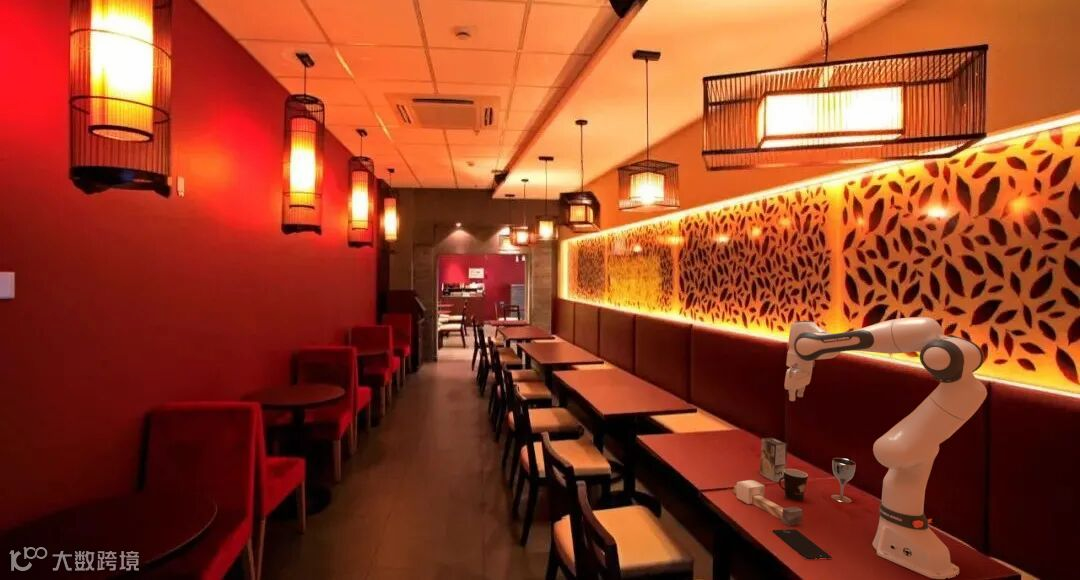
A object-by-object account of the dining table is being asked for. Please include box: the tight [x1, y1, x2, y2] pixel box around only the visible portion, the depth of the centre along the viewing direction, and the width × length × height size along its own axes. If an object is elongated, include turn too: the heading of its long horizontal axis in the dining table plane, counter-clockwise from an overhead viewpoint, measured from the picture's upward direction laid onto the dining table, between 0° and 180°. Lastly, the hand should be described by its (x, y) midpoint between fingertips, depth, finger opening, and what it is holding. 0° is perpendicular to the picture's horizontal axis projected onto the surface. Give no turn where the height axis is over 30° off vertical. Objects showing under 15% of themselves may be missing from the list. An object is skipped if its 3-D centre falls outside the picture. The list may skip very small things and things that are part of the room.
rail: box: [733, 484, 803, 527], centre depth 196 cm, size 28×6×5 cm, turn 23°
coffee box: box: [759, 437, 788, 483], centre depth 228 cm, size 9×6×16 cm
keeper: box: [735, 479, 765, 505], centre depth 203 cm, size 6×8×6 cm
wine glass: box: [830, 457, 856, 504], centre depth 209 cm, size 8×8×15 cm
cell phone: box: [772, 528, 833, 560], centre depth 170 cm, size 9×18×1 cm, turn 9°
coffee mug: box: [778, 468, 809, 503], centre depth 207 cm, size 12×9×10 cm
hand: (796, 398), depth 200 cm, fingers open, 8 cm apart
